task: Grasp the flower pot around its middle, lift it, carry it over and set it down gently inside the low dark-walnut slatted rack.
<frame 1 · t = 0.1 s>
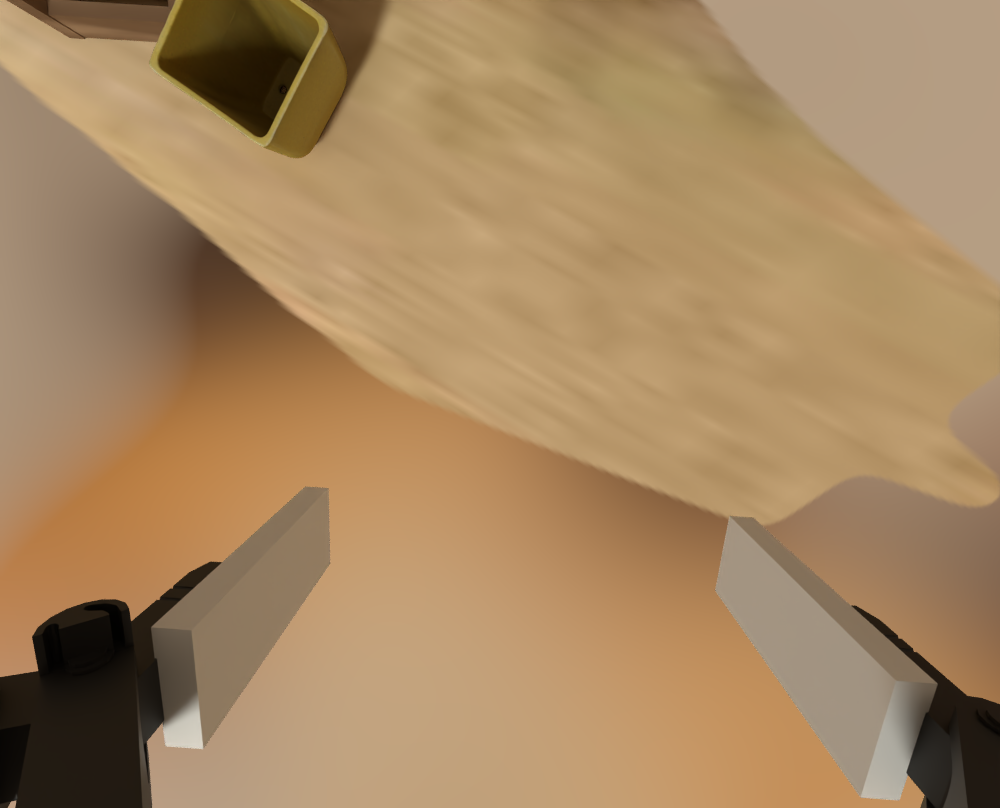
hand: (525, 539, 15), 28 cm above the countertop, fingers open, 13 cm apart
flower pot: (301, 104, 38), on the countertop
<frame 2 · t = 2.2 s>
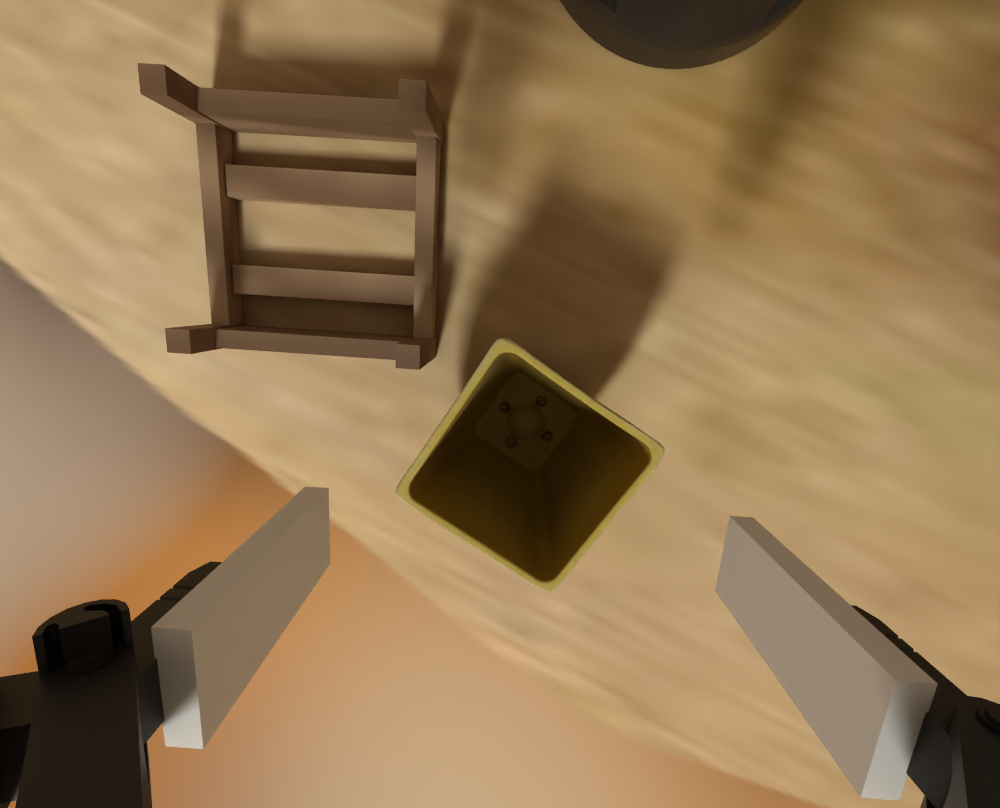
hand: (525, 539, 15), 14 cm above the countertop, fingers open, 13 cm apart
flower pot: (523, 419, 29), on the countertop
rack: (329, 238, 27), on the countertop
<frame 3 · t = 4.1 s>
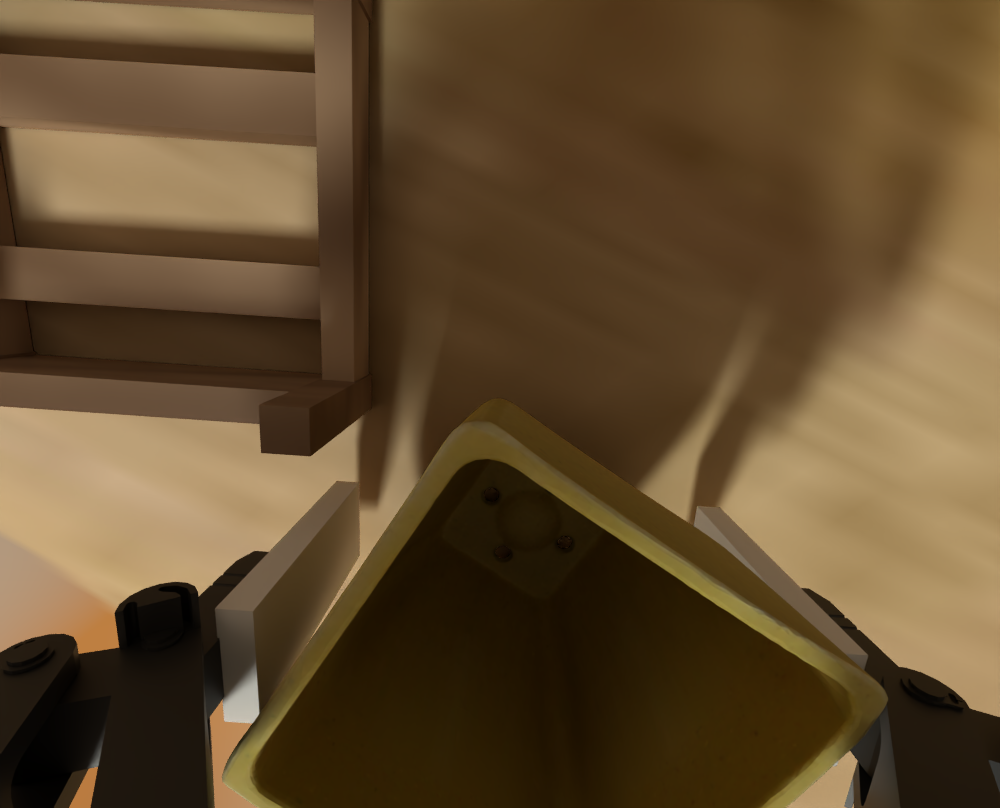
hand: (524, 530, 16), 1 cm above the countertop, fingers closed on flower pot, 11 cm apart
flower pot: (523, 512, 17), on the countertop, touching gripper
rack: (171, 199, 15), on the countertop
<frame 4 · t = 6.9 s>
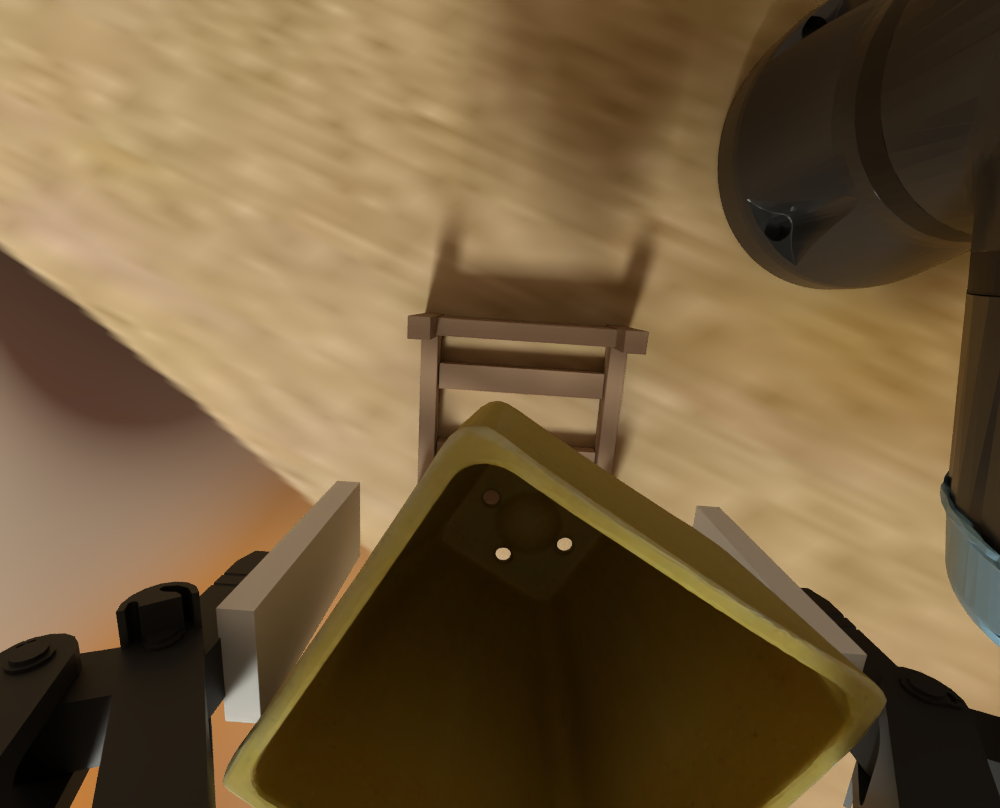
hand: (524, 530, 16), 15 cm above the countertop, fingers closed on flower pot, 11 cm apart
flower pot: (523, 513, 17), point 14 cm above the countertop, touching gripper
rack: (517, 417, 31), on the countertop
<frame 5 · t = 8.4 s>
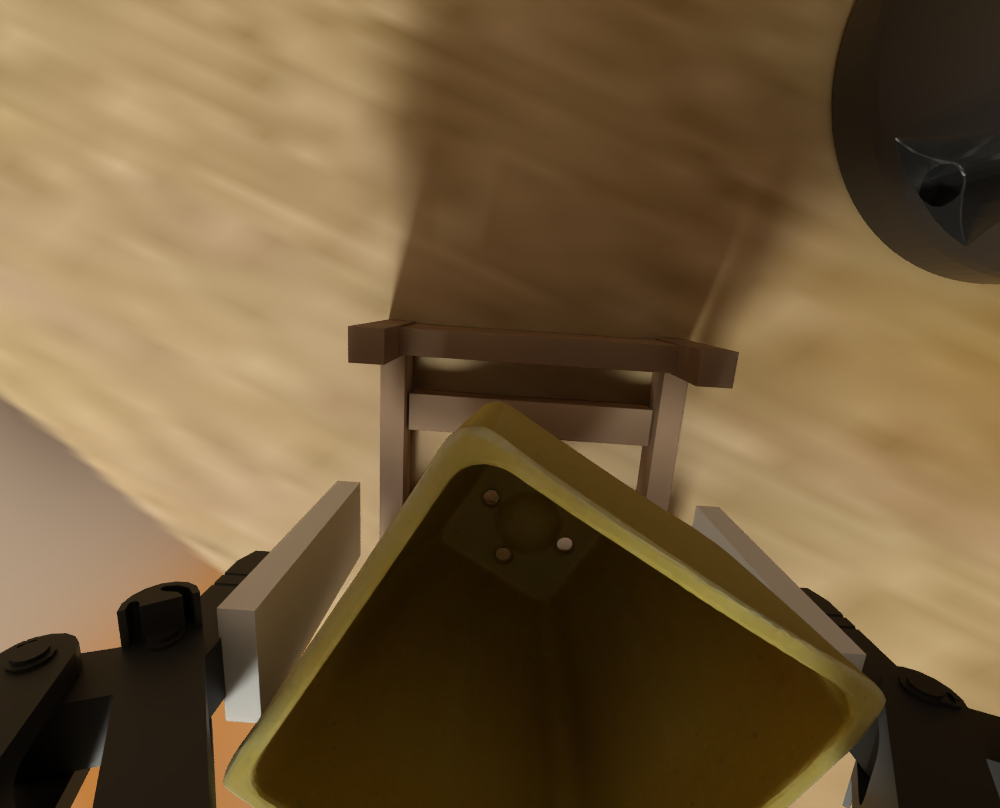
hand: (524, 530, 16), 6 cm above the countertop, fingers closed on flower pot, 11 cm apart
flower pot: (523, 513, 17), point 4 cm above the countertop, touching gripper
rack: (524, 468, 21), on the countertop
when the fingers open (4 cm above the countertop, at t = 9.9 s): flower pot drops 2 cm, resting on rack.
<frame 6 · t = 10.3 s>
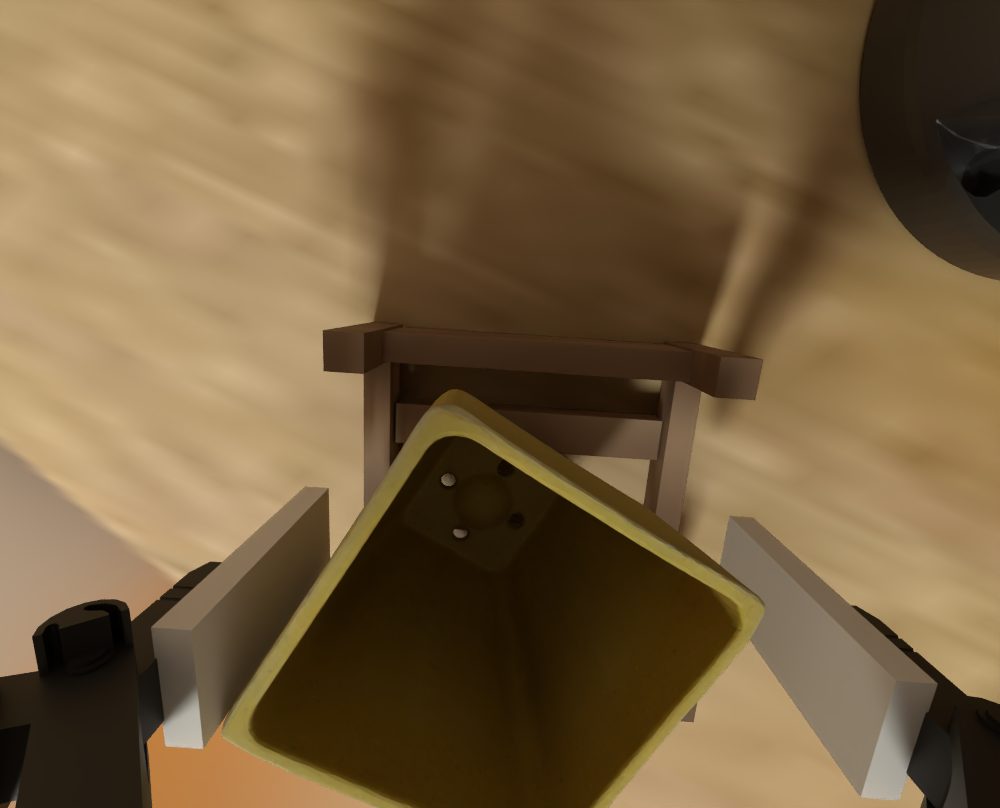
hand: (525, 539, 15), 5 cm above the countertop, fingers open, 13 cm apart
flower pot: (478, 494, 19), point 1 cm above the countertop, touching gripper, rack
rack: (521, 483, 20), on the countertop
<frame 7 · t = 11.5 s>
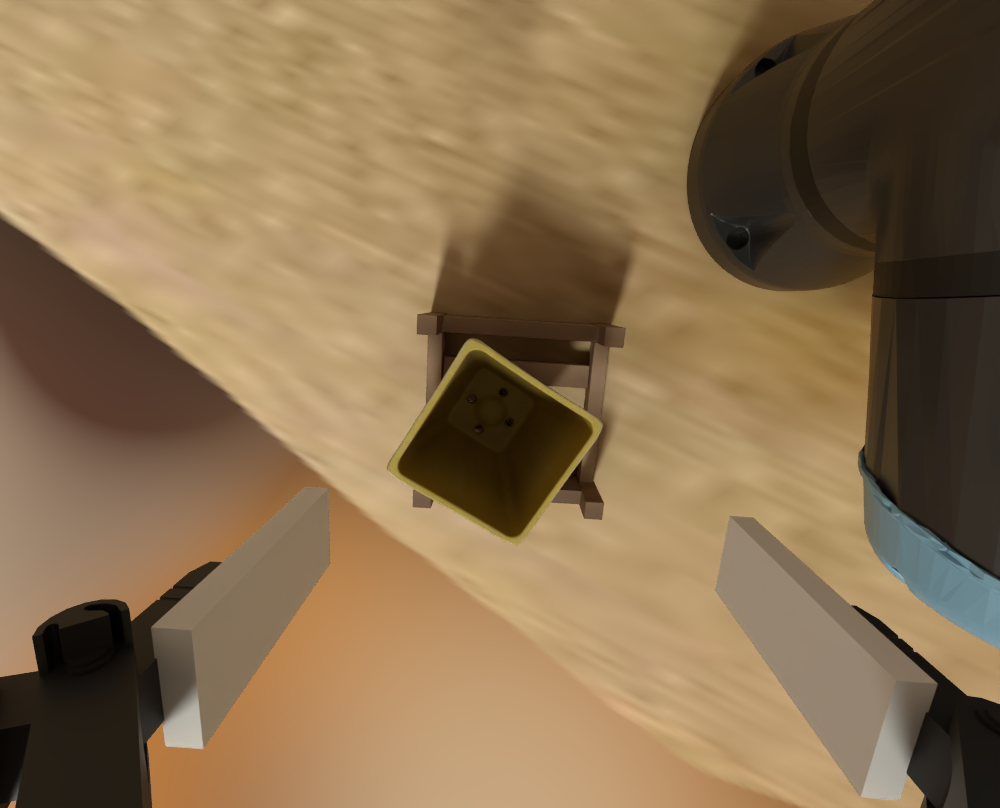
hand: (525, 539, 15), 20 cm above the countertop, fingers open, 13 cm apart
flower pot: (488, 408, 34), point 1 cm above the countertop, touching rack
rack: (513, 404, 35), on the countertop
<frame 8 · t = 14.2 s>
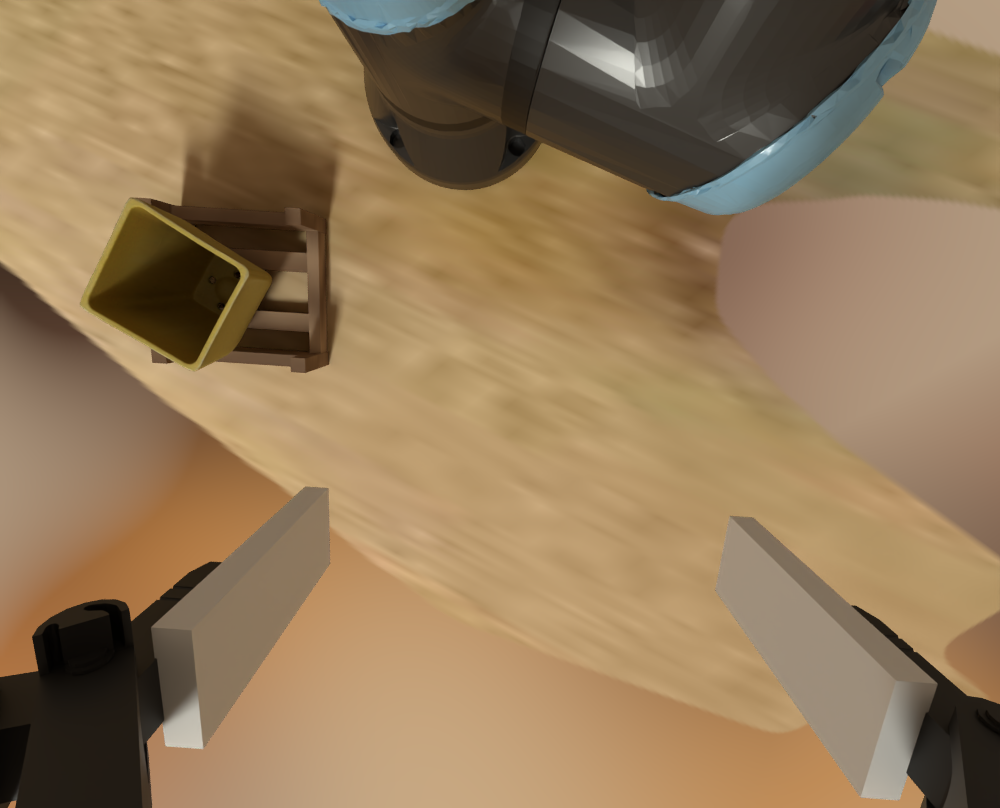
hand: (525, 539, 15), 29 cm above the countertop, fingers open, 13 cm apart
flower pot: (230, 290, 41), point 1 cm above the countertop, touching rack
rack: (257, 289, 42), on the countertop
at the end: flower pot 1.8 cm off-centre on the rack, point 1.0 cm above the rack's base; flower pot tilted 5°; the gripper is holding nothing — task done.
